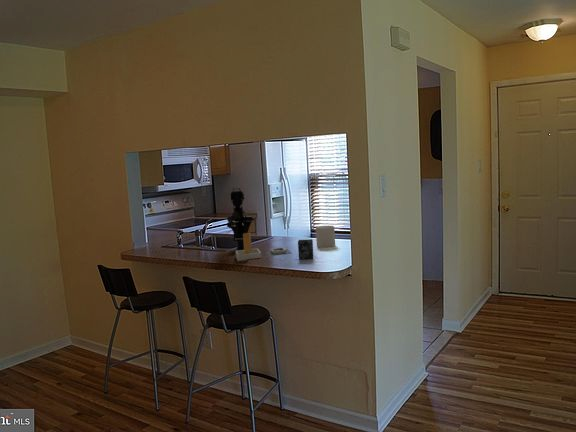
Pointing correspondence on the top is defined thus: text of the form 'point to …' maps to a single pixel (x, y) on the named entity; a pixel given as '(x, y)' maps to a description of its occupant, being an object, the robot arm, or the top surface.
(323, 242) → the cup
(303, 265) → the top surface
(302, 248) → the box
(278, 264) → the top surface
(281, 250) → the socket mount
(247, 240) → the strut
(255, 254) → the bin
